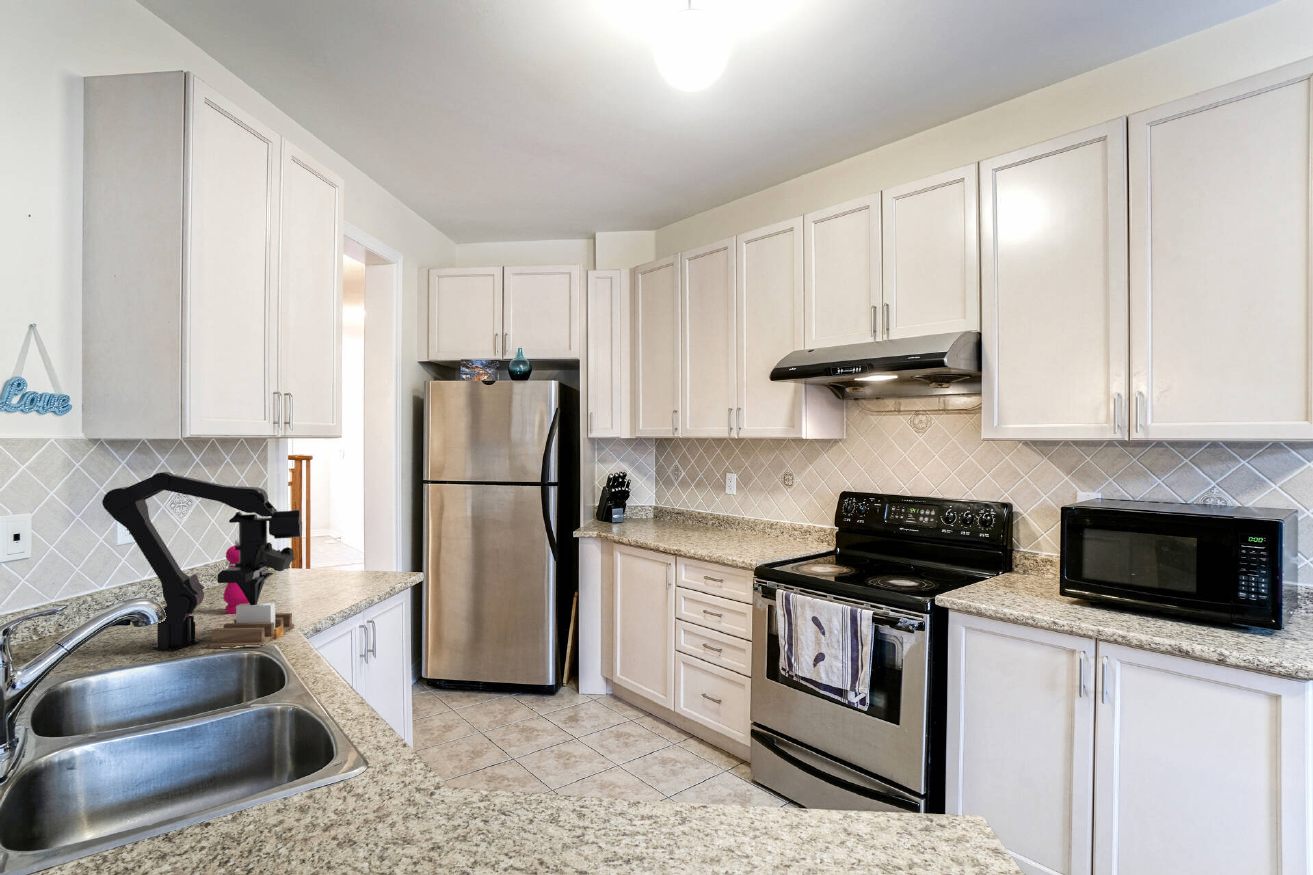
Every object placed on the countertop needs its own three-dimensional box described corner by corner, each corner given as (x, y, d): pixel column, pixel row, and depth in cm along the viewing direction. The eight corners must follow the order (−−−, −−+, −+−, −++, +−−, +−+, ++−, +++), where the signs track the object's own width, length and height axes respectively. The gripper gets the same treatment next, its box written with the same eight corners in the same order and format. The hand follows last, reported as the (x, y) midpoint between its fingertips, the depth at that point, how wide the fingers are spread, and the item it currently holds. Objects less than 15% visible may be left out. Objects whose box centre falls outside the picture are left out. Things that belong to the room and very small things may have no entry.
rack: (261, 647, 150) (261, 630, 150) (209, 648, 150) (209, 631, 150) (296, 627, 166) (296, 611, 166) (249, 628, 166) (249, 612, 166)
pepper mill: (260, 607, 186) (259, 537, 186) (241, 614, 179) (241, 541, 179) (236, 607, 187) (236, 537, 187) (217, 614, 180) (216, 541, 180)
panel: (270, 634, 157) (270, 605, 157) (236, 635, 157) (236, 605, 157) (275, 632, 159) (275, 603, 159) (241, 632, 159) (241, 603, 159)
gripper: (266, 545, 149) (266, 614, 149) (306, 533, 168) (306, 594, 168) (215, 546, 149) (216, 615, 149) (261, 534, 167) (262, 595, 167)
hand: (253, 604), depth 158 cm, fingers closed, pressing on panel
